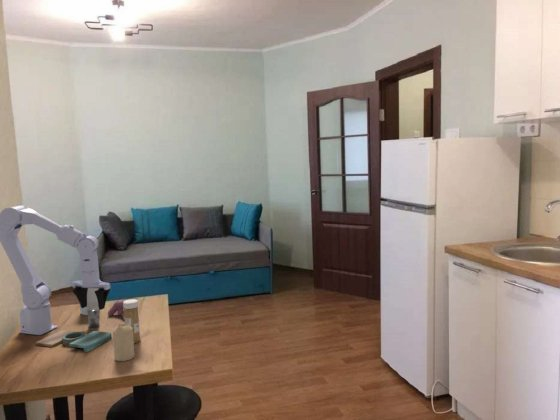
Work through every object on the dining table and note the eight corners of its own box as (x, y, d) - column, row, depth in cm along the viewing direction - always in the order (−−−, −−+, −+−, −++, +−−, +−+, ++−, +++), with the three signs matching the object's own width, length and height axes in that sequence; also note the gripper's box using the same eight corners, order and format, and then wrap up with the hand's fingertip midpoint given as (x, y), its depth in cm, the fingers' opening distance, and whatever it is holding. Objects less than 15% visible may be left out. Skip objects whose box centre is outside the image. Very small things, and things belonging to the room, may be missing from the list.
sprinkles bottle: (142, 341, 148) (139, 301, 146) (127, 345, 145) (125, 304, 144) (138, 337, 151) (135, 297, 150) (124, 340, 149) (121, 300, 147)
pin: (86, 327, 162) (85, 311, 161) (93, 324, 165) (92, 308, 164) (94, 328, 160) (93, 312, 160) (101, 325, 164) (100, 308, 163)
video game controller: (132, 321, 171) (138, 303, 173) (123, 319, 167) (129, 300, 169) (115, 317, 176) (120, 299, 178) (105, 315, 172) (111, 297, 174)
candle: (123, 363, 133) (121, 329, 131) (110, 359, 135) (108, 326, 134) (138, 355, 137) (136, 323, 136) (126, 352, 140) (123, 320, 139)
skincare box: (93, 309, 182) (90, 279, 180) (100, 311, 179) (98, 280, 178) (79, 314, 176) (76, 283, 175) (86, 315, 174) (84, 284, 173)
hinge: (35, 344, 148) (34, 338, 147) (61, 332, 158) (61, 326, 158) (88, 351, 141) (87, 345, 141) (111, 338, 151) (111, 332, 151)
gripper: (114, 268, 162) (117, 305, 163) (81, 266, 166) (84, 303, 168) (101, 273, 155) (104, 312, 157) (66, 271, 160) (69, 309, 161)
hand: (93, 308), depth 162 cm, fingers open, 7 cm apart
